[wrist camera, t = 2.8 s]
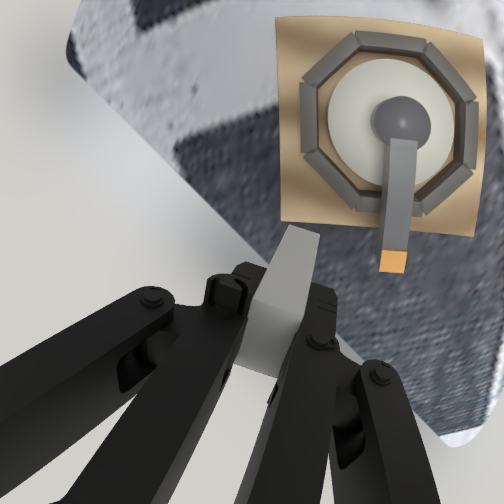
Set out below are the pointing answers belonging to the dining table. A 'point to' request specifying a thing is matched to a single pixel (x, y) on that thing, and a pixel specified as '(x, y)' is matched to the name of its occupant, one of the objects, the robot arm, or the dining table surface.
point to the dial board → (317, 131)
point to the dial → (391, 141)
